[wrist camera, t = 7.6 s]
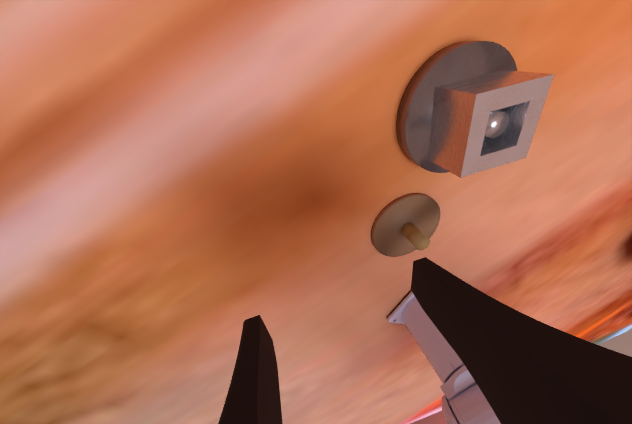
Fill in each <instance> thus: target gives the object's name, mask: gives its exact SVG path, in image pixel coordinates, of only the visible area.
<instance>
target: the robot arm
mask: <svg viewBox="0 0 632 424" xmlns="http://www.w3.org/2000/svg"><path fill="white" fill-rule="evenodd" d="M411 290H412V291H411V292H410V294H409V295H408V296H407V297H406V298H405V299H404V300H403V301H402V302H401V304H400V305H399V306H398V307H397V308H396V309H395V310H394V311H393V312H392V314H391V315H390V316H389V317H388V318H387V320H388V322H390V323H397V324H405V325H406V326H407V327H408V329H409V331H410V332H411V334H412V335H413V337H414V339H415V340H416V342H417V343H418V345H419V346H420V348H421V350H422V351H423V353H424V354H425V356H426V357H427V359H428V361H429V362H430V364H431V365H432V367H433V369H434V370H435V372H436V373H437V375H438V376H439V378H440V380H441V381H442V383H443V385H442V386H440V388H441V389H442V391H443V392H444V394H445V395H444V396H443V397H442V411H443V413H444V417H445V419H446V421H447V423H448V424H632V357H630V356H627V355H624V354H621V353H618V352H615V351H612V350H609V349H607V348H604V347H601V346H598V345H596V344H593V343H591V342H588V341H585V340H583V339H580V338H578V337H575V336H573V335H571V334H568V333H566V332H563V331H561V330H558V329H556V328H553V327H551V326H549V325H546V324H544V323H542V322H540V321H537V320H535V319H533V318H531V317H529V316H527V315H525V314H523V313H521V312H518V311H516V310H514V309H512V308H510V307H509V306H507V305H505V304H503V303H501V302H499V301H497V300H495V299H494V298H492V297H490V296H488V295H486V294H485V293H483V292H481V291H479V290H478V289H476V288H474V287H472V286H471V285H469V284H467V283H466V282H464V281H462V280H461V279H459V278H458V277H456V276H454V275H453V274H451V273H449V272H448V271H446V270H445V269H443V268H442V267H440V266H438V265H437V264H435V263H434V262H432V261H431V260H429V259H427V258H426V257H425V258H422V259H419V260H416V261H413V272H412V284H411ZM218 424H282V414H281V403H280V391H279V380H278V369H277V362H276V356H275V351H274V346H273V340H272V338H271V336H270V334H269V332H268V330H267V328H266V326H265V324H264V322H263V321H262V319H261V317H260V315H258V316H255V317H252V318H249V319H247V320H245V321H244V323H243V330H242V336H241V341H240V346H239V351H238V356H237V360H236V364H235V368H234V372H233V376H232V380H231V384H230V387H229V391H228V394H227V397H226V401H225V404H224V407H223V411H222V414H221V417H220V420H219V423H218Z"/></svg>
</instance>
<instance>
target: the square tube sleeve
mask: <svg viewBox="0 0 632 424" xmlns="http://www.w3.org/2000/svg"><path fill="white" fill-rule="evenodd" d="M553 77H554V74H547V73H533V72H520V71H507V70H500V71H496V72H492V73H488V74H484V75H480V76H476V77H472V78H468V79H464V80H460V81H456V82H452V83H448V84H444V85H440V86H436V87H435V90H434V100H433V110H432V120H431V130H430V141H429V151H428V160H430V161H432V162H433V163H435V164H437V165H439V166H440V167H442V168H444V169H446V170H448V171H449V172H451V173H453V174H455V175H457V176H458V177H460V178H462V177H465V176H468V175H471V174H475V173H478V172H481V171H484V170H488V169H491V168H494V167H497V166H501V165H504V164H507V163H510V162H514V161H517V160H520V159H523V158H526V156H527V153H528V150H529V147H530V144H531V141H532V138H533V135H534V133H535V130H536V127H537V124H538V121H539V118H540V115H541V112H542V109H543V106H544V103H545V100H546V97H547V94H548V91H549V88H550V85H551V82H552V80H553ZM495 110H497V111H501V112H506V113H507V114H508V115H509V124H508V126H507V128H506V129H505V131H504V132H503V133H502V134H501V135H500V136H498V137H496V138H490V137H487V136H485V132H486V127H487V123H488V119H489V114H490V112H491V111H495Z"/></svg>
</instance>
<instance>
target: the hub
mask: <svg viewBox="0 0 632 424" xmlns="http://www.w3.org/2000/svg"><path fill="white" fill-rule="evenodd" d="M500 70H507V71H517V68H516V64H515V61H514V59H513V57H512V56H511V54H510V52H509V51H508V50H507V49H506V48H504V47H503V46H501V45H500V44H497V43H494V42H488V41H476V42H460V43H456V44H452V45H450V46H448V47H445V48H444V49H442V50H440V51H438V52H437V53H436V54H434V55H433V56H432V57H430V58H429V59H428V60H427V61H426V62H425V63H424V64H423V65H422V66H421V67H420V69H419V70H418V71H417V72H416V74H415V75H414V76H413V78H412V79H411V81H410V83H409V85H408V86H407V88H406V90H405V92H404V95H403V97H402V100H401V103H400V106H399V110H398V114H397V138H398V142H399V145H400V147H401V149H402V151H403V152H404V154H405V155H406V156H407V157H408V158H409V159H410V160H411V161H413V162H414V163H416V164H417V165H419V166H421V167H422V168H424V169H426V170H428V171H431V172H437V173H445V172H449V171H448V170H446V169H444V168H442V167H440V166H439V165H437V164H435V163H433V162H432V161H430V160H428V151H429V141H430V130H431V120H432V110H433V100H434V90H435V87H436V86H440V85H444V84H448V83H452V82H456V81H460V80H464V79H468V78H472V77H476V76H480V75H484V74H488V73H492V72H496V71H500ZM508 124H509V115H508V114H507V113H506V112H501V111H497V110H495V111H491V112H490V114H489V119H488V123H487V127H486V132H485V136H487V137H490V138H496V137H498V136H500V135H501V134H502V133H503V132H504V131H505V129H506V128H507V126H508Z"/></svg>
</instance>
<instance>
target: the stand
mask: <svg viewBox="0 0 632 424" xmlns="http://www.w3.org/2000/svg"><path fill="white" fill-rule="evenodd" d="M439 220H440V208H439V206H438V204H437V203H436V202H435V201H434V200H433V199H432V198H431V197H429V196H427V195H425V194H420V193H414V194H408V195H405V196H402V197H400V198H398V199H396V200H394V201H393V202H391V203H390V204H389V205H388V206H386V207H385V208H384V209H383V210H382V212H381V213H380V214H379V215H378V217H377V218H376V220H375V222H374V225H373V227H372V232H371V238H372V242H373V244H374V246H375V247H376V249H377V250H378V251H379V252H380V253H382V254H383V255H386V256H391V257H396V256H402V255H406V254H408V253H411V252H413V251H414V250H416V249H417V250H424V249H425V248H427V247H428V246H429V244H430V239H429V238H430V237H431V236H432V235H433V233H434V232H435V230H436V228H437V226H438V223H439Z"/></svg>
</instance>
